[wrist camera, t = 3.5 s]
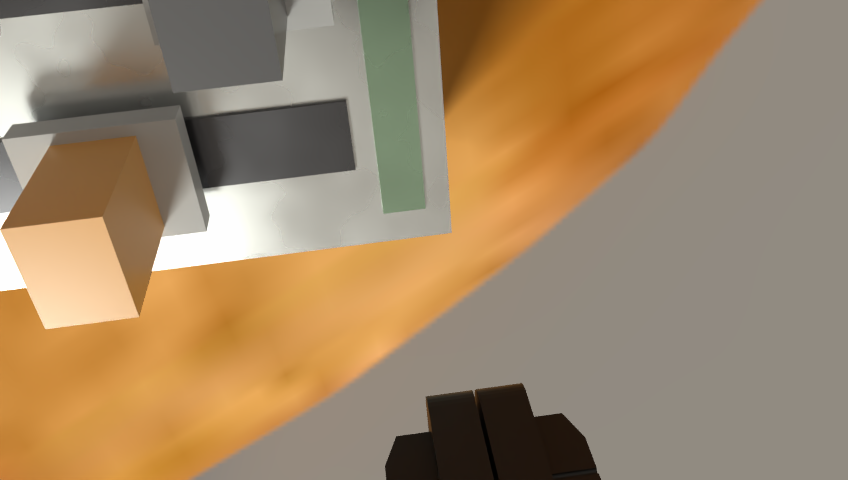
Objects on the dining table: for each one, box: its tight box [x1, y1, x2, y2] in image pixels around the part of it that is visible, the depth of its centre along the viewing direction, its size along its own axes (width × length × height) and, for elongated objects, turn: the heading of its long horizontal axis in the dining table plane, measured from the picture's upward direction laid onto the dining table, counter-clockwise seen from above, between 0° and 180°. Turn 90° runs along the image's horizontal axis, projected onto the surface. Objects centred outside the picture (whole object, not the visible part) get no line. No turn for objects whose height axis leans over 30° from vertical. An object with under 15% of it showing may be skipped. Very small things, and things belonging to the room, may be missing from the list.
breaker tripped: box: [0, 105, 210, 329], centre depth 18 cm, size 3×4×4 cm
